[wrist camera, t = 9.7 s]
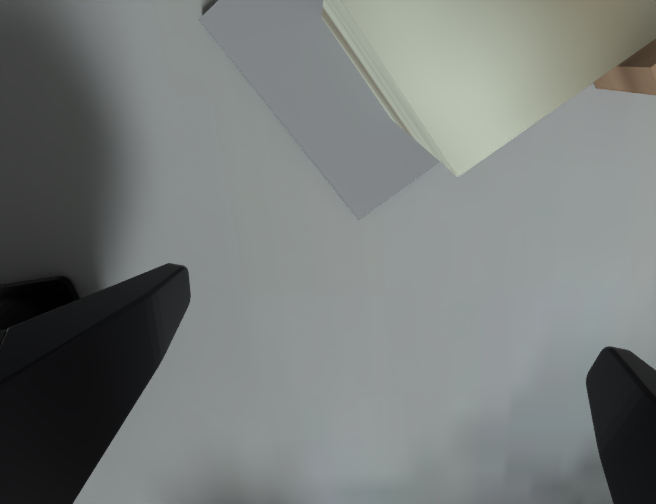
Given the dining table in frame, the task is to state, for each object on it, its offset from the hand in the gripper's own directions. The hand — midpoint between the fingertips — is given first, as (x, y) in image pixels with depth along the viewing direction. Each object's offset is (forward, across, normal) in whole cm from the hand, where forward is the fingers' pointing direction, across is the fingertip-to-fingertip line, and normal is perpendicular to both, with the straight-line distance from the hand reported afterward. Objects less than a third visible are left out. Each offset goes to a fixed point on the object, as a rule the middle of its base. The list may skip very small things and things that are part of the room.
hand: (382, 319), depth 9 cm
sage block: (+13, +1, -5) cm, 14 cm away
